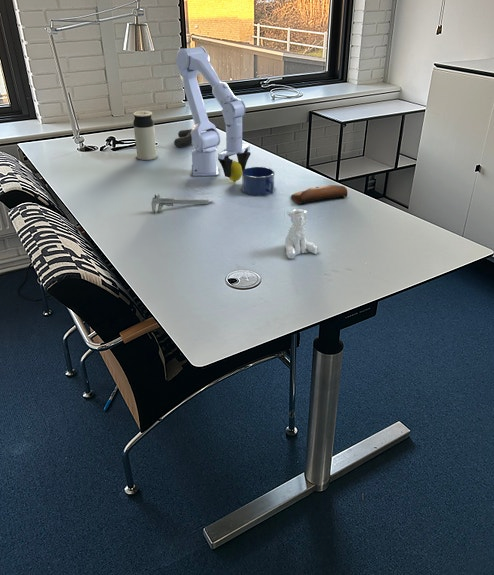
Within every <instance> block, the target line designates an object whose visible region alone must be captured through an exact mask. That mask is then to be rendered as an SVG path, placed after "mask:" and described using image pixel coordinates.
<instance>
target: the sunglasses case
mask: <svg viewBox="0 0 494 575" xmlns="http://www.w3.org/2000/svg"><path fill="white" fill-rule="evenodd" d="M338 197H339V198H340V197H345V198H347V197H348V189H347V187H346V186H344V185H337V184H330V185H323V186H315V187H309V188H307V189H305V190H301V191H296V192H294V193H293V194H291V198H292V200H293V201H294V202H296V204H297V205H300V204H304V203H308V202H309V203H310V202H313V201H318V200H324V199H331V198H338Z"/></svg>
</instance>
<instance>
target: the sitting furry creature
mask: <svg viewBox="0 0 494 575" xmlns="http://www.w3.org/2000/svg"><path fill="white" fill-rule="evenodd" d="M307 213H308V210H304V209H301V208H299V209H294V210H292V212H291V211H287V213H286V214H287V216H288V217H290V222H291V225H290V226H289V229H288V233H287V235H286V236H285V240H284V244H285V250H286V252H285V253H286V256H287V258H288V259H291V260H293V259H294V258H295V257H296V256H298V255H300V254H308V253H311V254H314V255H317V254H318V253H319V247H318V246H317V245H316V244H315V243H314V242H312V241H308V240H307V239H306V234H307V232H306V231H307V230H306V229H305V227H306V226H305V225H306V223H308V215H307Z"/></svg>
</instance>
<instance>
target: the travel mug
mask: <svg viewBox="0 0 494 575" xmlns="http://www.w3.org/2000/svg"><path fill="white" fill-rule="evenodd" d="M132 115H133V118H134V119H133V121H132V123H133V132H134V141H135V142H134V143H135V150H136V158H137V159H139V160H141V161H151V160H155V159H156V158H157V156H158V154H157V146H156V145H157V143H156V133H155V132H156V131H155V123H154V122H155V121H154V119H153V117H152V115H153V112H152V111H150V110H137V111H135V112H133V113H132Z"/></svg>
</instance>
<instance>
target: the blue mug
mask: <svg viewBox="0 0 494 575" xmlns="http://www.w3.org/2000/svg"><path fill="white" fill-rule="evenodd" d="M241 184H242V185H241V186H242V187H241V190H242V192H243V193H245V194H246V195H250V196H267V195H273V194H274V191H275V170H274V169H272V168H270V167H267V166H250V167H247V168H246V167H245V169H244V170H243V171H242V176H241Z"/></svg>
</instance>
